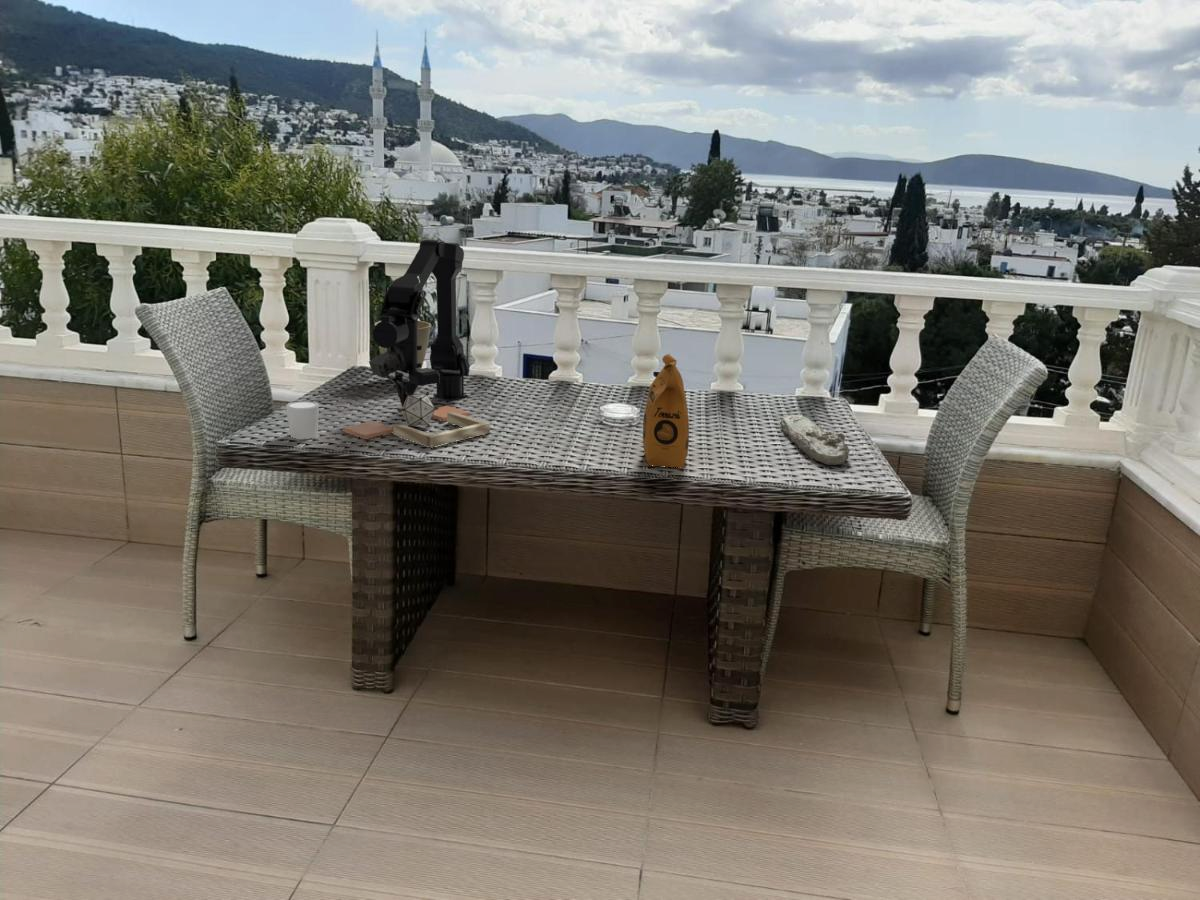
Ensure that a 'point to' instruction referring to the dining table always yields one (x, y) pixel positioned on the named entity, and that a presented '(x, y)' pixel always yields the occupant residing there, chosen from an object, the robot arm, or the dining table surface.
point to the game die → (418, 409)
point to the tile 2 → (442, 412)
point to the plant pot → (422, 340)
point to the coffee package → (666, 419)
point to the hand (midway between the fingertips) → (404, 406)
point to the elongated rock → (815, 440)
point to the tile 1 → (368, 430)
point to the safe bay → (468, 430)
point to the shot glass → (303, 419)
